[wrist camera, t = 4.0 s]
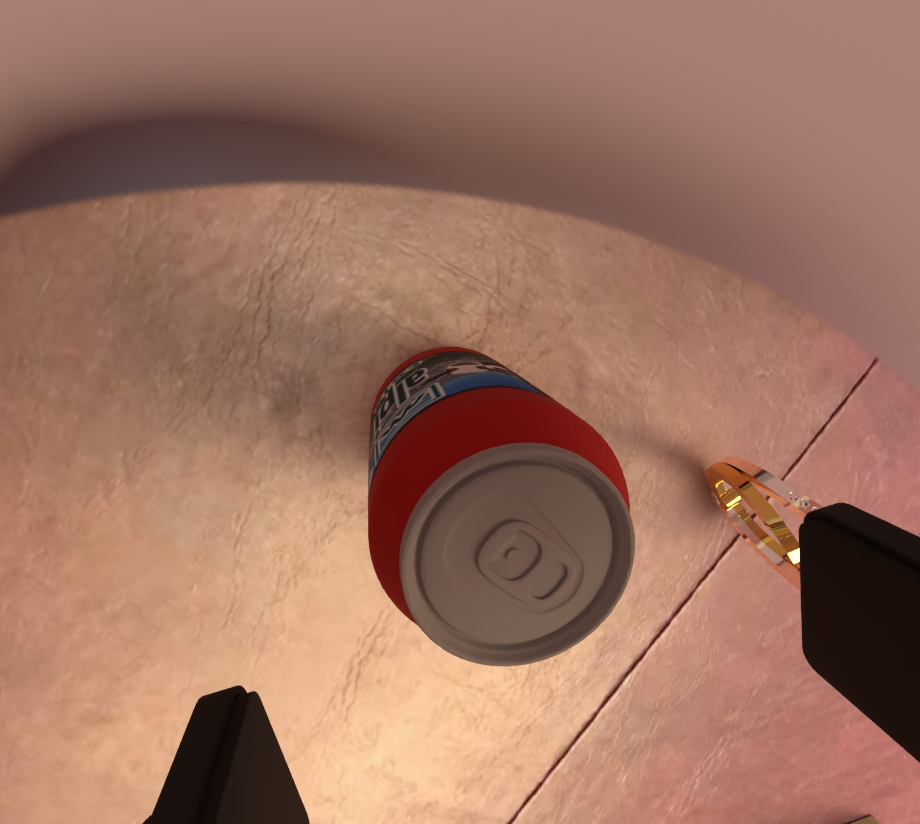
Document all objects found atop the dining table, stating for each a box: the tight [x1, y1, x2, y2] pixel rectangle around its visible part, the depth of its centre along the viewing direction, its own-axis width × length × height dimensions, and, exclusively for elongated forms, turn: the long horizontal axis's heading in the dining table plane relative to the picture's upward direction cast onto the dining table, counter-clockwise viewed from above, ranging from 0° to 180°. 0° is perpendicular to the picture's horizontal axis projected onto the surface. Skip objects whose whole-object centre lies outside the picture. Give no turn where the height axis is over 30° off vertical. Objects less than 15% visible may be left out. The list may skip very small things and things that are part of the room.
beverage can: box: [368, 347, 635, 666], centre depth 17 cm, size 7×7×12 cm
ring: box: [706, 457, 823, 590], centre depth 22 cm, size 7×3×8 cm, turn 33°
